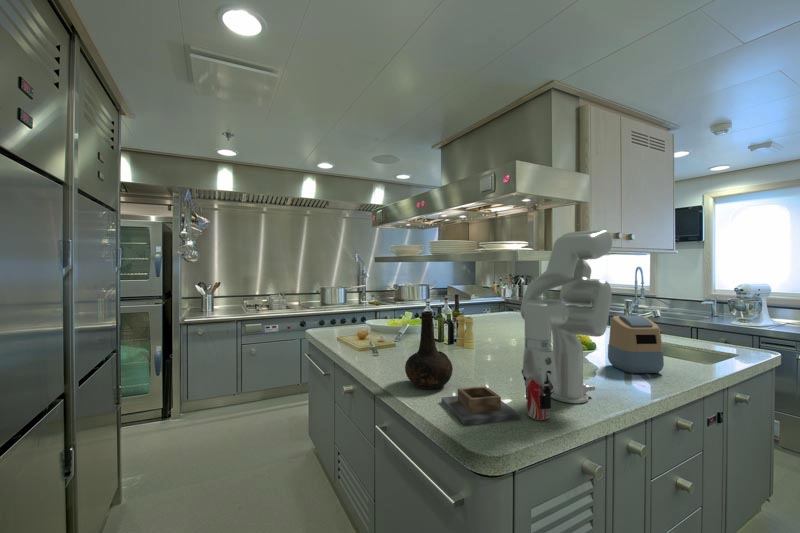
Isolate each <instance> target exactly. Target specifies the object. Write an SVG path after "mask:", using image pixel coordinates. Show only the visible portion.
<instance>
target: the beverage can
mask: <svg viewBox="0 0 800 533" xmlns="http://www.w3.org/2000/svg"><path fill="white" fill-rule="evenodd" d="M544 384H547V383H546V382H544ZM546 389H547V386H544V390H546ZM540 395H542V394H541V390H540V385H539V384H537V383H536V382H535V381H534V379H533V378H530V377H529V379H528V380H527V400H526V414H527V416H529V417H530V418H531V419H532V420H536V421H545V420H547V419H549V418H550V409H541V408H540Z"/></svg>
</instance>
